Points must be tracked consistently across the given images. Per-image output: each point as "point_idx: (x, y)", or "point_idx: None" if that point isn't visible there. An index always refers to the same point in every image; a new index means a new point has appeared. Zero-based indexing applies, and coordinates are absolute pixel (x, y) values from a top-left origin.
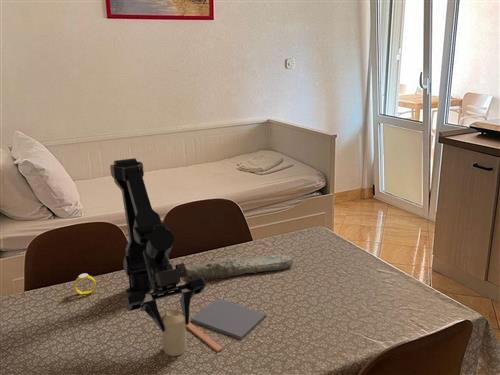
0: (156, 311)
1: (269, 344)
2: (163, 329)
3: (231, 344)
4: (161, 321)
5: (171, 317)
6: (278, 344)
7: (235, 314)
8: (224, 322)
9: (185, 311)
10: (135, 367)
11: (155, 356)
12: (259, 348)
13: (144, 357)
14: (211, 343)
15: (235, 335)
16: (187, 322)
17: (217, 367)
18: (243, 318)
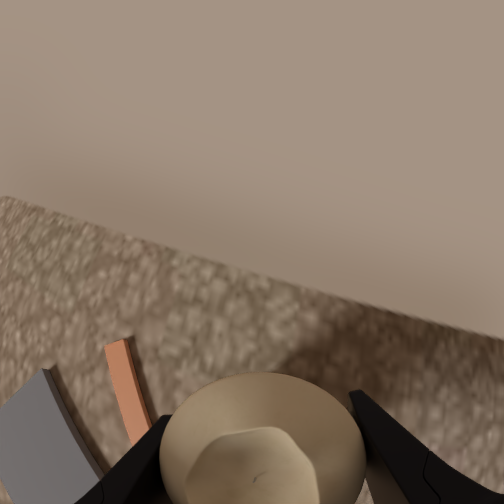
0: (432, 497)
1: (13, 311)
2: (356, 393)
3: (78, 362)
4: (375, 432)
5: (280, 418)
6: (3, 301)
7: (32, 489)
8: (64, 477)
9: (136, 476)
10: (450, 344)
11: (374, 400)
12: (33, 305)
13: (417, 402)
14: (129, 391)
15: (53, 391)
16: (166, 419)
17: (156, 259)
18: (18, 454)
